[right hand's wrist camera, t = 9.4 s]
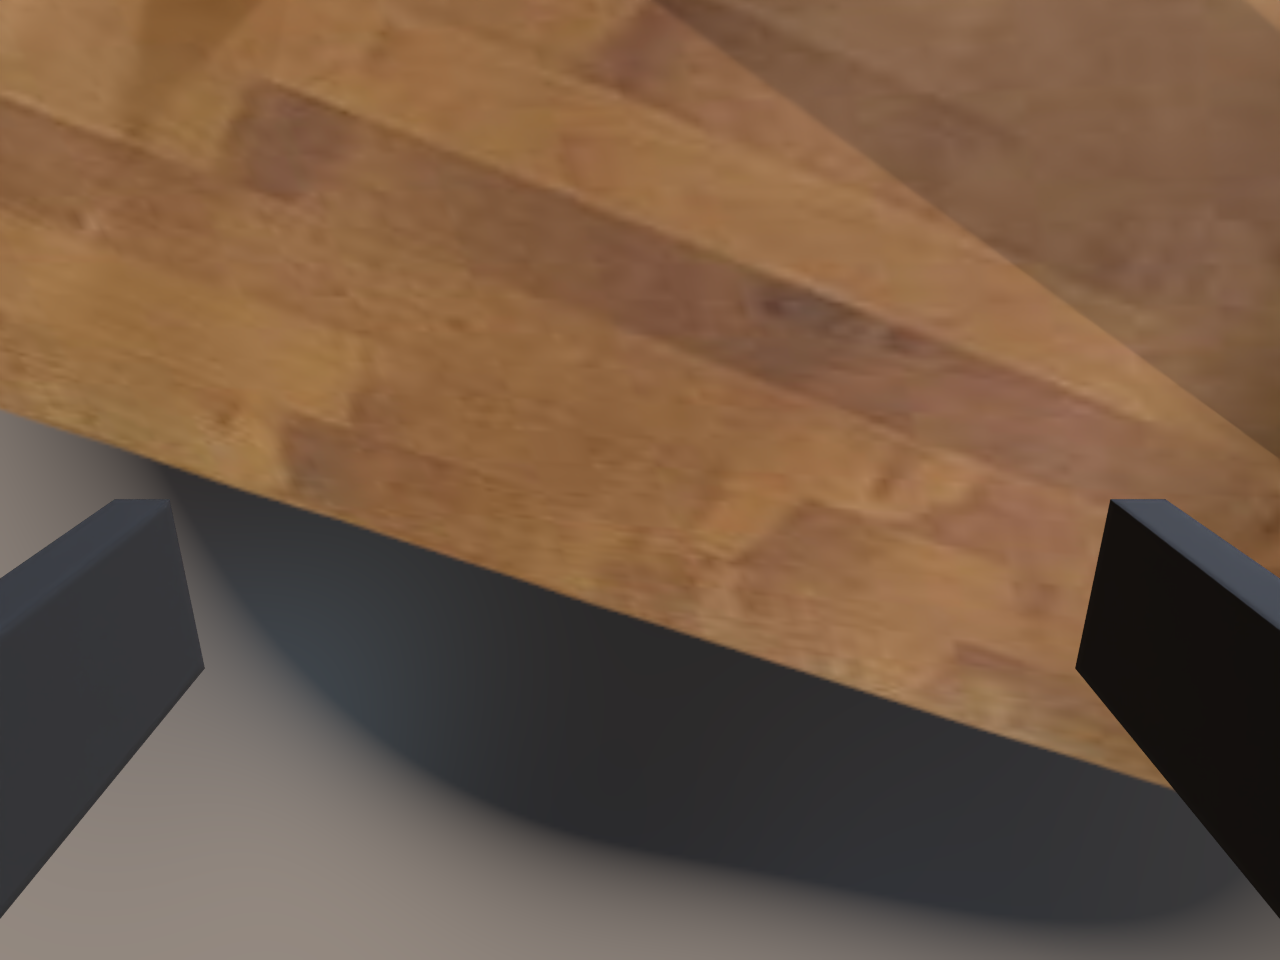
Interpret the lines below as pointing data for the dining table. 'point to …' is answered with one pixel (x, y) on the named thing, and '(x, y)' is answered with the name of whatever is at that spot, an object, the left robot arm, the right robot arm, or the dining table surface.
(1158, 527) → the right robot arm
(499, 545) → the dining table surface
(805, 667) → the dining table surface
